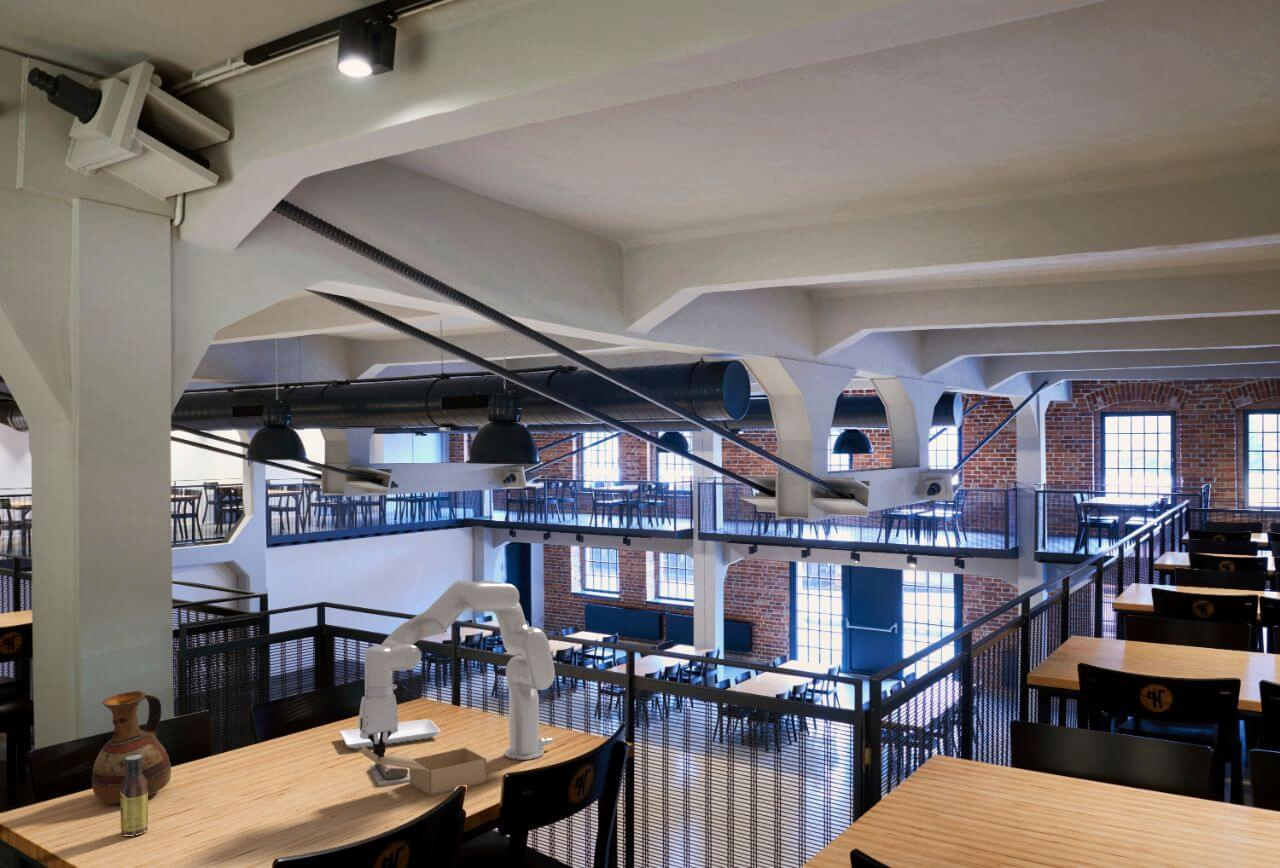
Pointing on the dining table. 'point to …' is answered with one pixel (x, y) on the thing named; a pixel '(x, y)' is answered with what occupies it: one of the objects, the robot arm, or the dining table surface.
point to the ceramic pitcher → (130, 747)
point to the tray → (404, 733)
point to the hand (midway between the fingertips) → (379, 756)
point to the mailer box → (448, 771)
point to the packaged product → (389, 774)
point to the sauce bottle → (134, 798)
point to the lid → (391, 759)
